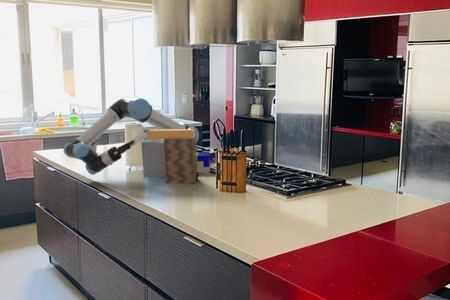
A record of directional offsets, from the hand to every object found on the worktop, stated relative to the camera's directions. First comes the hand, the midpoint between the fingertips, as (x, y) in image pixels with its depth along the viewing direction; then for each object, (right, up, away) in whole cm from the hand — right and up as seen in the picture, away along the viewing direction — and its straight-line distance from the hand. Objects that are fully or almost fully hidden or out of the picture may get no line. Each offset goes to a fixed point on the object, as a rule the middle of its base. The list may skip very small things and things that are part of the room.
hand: (143, 135), depth 251 cm
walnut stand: (+20, -24, +2) cm, 31 cm away
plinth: (+6, -21, +19) cm, 29 cm away
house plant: (-51, -9, +90) cm, 104 cm away
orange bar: (+15, -1, -1) cm, 15 cm away
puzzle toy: (+29, -20, +24) cm, 43 cm away
